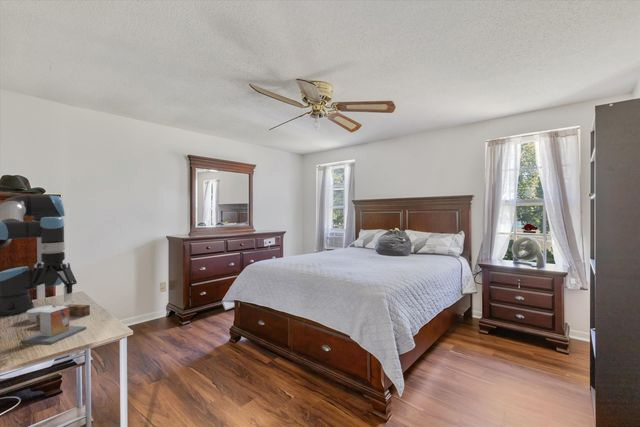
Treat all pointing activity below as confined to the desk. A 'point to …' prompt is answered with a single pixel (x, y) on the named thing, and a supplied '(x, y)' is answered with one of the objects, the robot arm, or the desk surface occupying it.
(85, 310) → the walnut crossbar stand
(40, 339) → the slate grey mat
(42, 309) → the ramekin
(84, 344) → the desk surface
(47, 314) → the small box
